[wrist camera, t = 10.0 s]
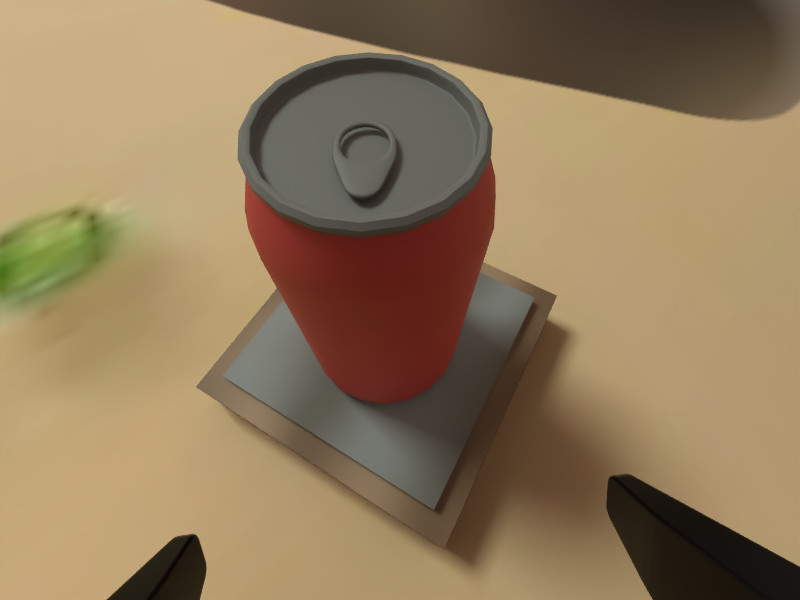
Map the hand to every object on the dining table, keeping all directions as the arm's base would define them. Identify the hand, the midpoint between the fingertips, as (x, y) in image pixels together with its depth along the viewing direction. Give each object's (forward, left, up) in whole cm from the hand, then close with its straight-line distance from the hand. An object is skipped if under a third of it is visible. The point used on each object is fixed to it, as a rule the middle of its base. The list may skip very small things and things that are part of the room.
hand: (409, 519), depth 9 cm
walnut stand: (+5, -6, -11) cm, 13 cm away
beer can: (+5, -6, -8) cm, 11 cm away
